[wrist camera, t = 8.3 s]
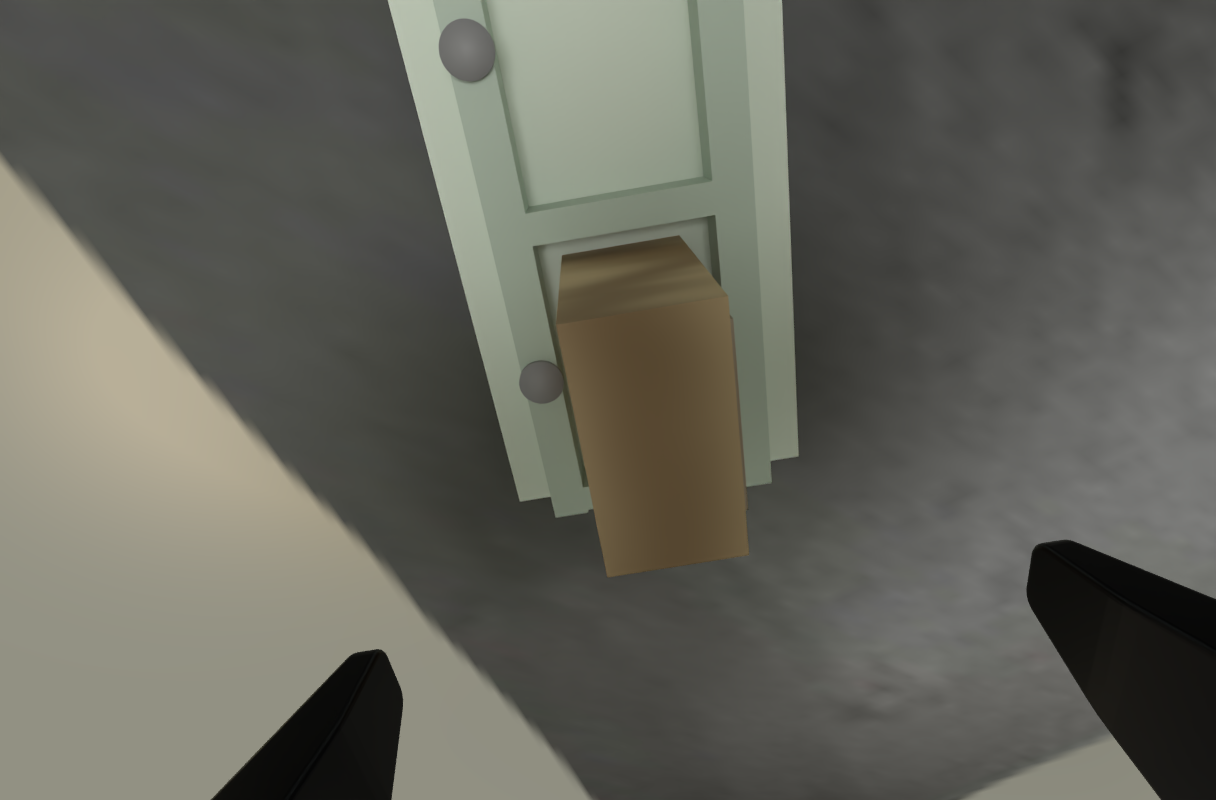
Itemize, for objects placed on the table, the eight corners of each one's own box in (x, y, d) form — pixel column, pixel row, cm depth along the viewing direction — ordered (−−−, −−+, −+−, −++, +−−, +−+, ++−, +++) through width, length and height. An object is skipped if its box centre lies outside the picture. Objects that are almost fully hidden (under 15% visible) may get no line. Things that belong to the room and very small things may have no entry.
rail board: (728, -852, 11) (772, -1125, 8) (787, 438, 21) (813, 480, 19) (207, -742, 11) (107, -976, 9) (522, 481, 21) (516, 527, 19)
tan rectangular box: (686, 233, 17) (738, 294, 12) (706, 428, 20) (757, 553, 14) (562, 255, 17) (555, 325, 12) (598, 446, 20) (607, 577, 14)
